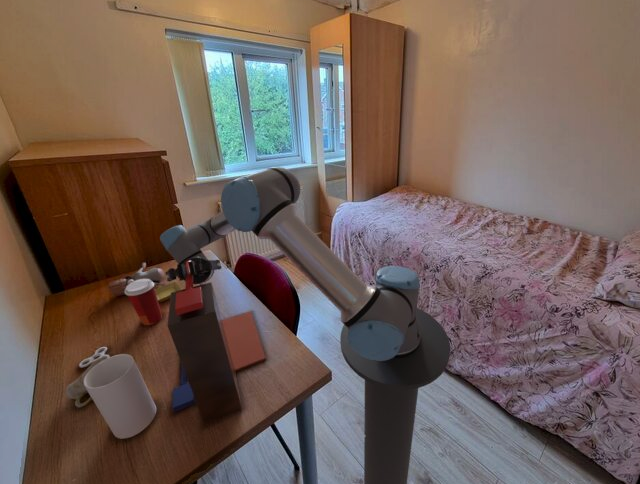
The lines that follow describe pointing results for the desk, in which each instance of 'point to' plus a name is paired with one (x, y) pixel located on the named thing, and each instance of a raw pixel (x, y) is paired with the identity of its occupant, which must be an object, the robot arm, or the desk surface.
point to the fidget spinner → (94, 357)
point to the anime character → (120, 285)
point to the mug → (80, 386)
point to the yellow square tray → (167, 291)
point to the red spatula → (188, 296)
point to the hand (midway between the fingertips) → (186, 269)
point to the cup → (121, 395)
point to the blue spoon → (182, 394)
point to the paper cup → (144, 300)
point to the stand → (205, 356)
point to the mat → (243, 340)
